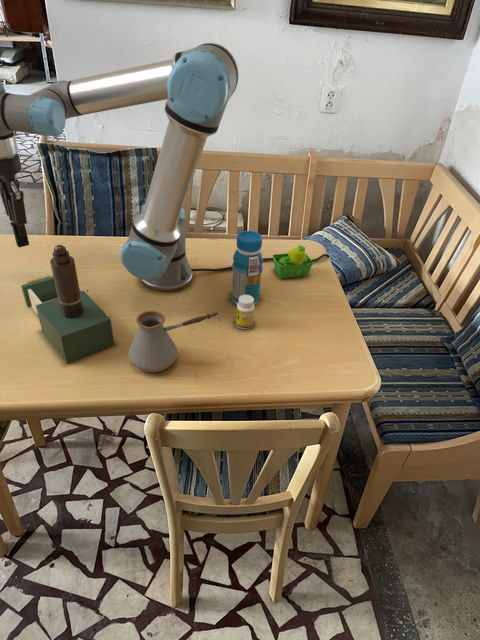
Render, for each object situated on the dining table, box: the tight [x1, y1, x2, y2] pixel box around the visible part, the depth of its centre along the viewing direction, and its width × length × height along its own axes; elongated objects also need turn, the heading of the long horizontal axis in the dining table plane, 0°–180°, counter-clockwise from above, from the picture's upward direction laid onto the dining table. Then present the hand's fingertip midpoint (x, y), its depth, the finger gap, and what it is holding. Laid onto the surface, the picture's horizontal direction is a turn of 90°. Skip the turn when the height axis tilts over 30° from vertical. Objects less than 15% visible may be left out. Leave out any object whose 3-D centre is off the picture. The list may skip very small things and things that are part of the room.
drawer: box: [20, 274, 58, 316], centre depth 126 cm, size 18×11×6 cm, turn 40°
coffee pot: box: [127, 310, 221, 373], centre depth 113 cm, size 21×12×15 cm, turn 95°
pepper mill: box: [49, 244, 84, 318], centre depth 110 cm, size 5×5×18 cm
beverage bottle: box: [230, 230, 264, 305], centre depth 134 cm, size 8×8×20 cm
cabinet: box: [36, 290, 115, 364], centre depth 119 cm, size 15×12×8 cm
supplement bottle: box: [235, 295, 256, 330], centre depth 129 cm, size 5×5×8 cm
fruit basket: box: [272, 244, 314, 279], centre depth 150 cm, size 11×9×11 cm
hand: (23, 245), depth 128 cm, fingers closed
